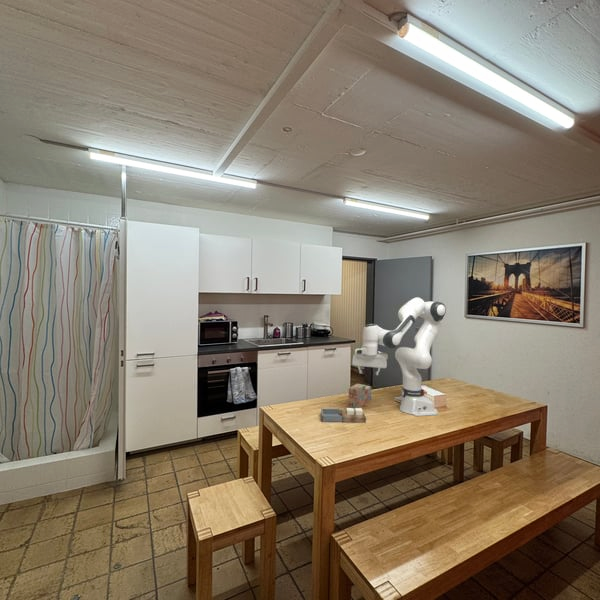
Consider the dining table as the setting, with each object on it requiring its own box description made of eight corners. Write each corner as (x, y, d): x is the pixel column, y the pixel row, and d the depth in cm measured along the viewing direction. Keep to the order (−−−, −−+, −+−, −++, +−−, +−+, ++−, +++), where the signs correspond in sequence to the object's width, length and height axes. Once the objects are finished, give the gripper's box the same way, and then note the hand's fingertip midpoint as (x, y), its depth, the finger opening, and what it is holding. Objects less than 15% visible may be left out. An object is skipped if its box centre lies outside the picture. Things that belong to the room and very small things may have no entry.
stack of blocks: (363, 397, 219) (363, 380, 218) (371, 399, 215) (371, 382, 215) (348, 406, 202) (348, 387, 201) (356, 408, 198) (357, 389, 198)
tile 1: (352, 412, 184) (353, 407, 184) (354, 414, 180) (354, 410, 180) (346, 412, 184) (346, 407, 184) (347, 414, 180) (347, 410, 180)
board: (361, 414, 188) (361, 409, 188) (365, 423, 176) (365, 417, 176) (340, 414, 188) (340, 409, 188) (342, 422, 176) (343, 417, 176)
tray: (339, 414, 188) (339, 408, 188) (342, 422, 177) (342, 416, 176) (321, 414, 188) (321, 408, 188) (322, 422, 177) (322, 415, 176)
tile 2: (361, 412, 184) (361, 408, 184) (362, 414, 180) (362, 410, 180) (354, 412, 184) (354, 408, 184) (355, 414, 180) (355, 410, 180)
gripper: (387, 351, 185) (386, 374, 185) (353, 348, 190) (352, 371, 190) (388, 353, 179) (387, 377, 179) (352, 350, 184) (351, 373, 184)
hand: (368, 374), depth 185 cm, fingers open, 8 cm apart
